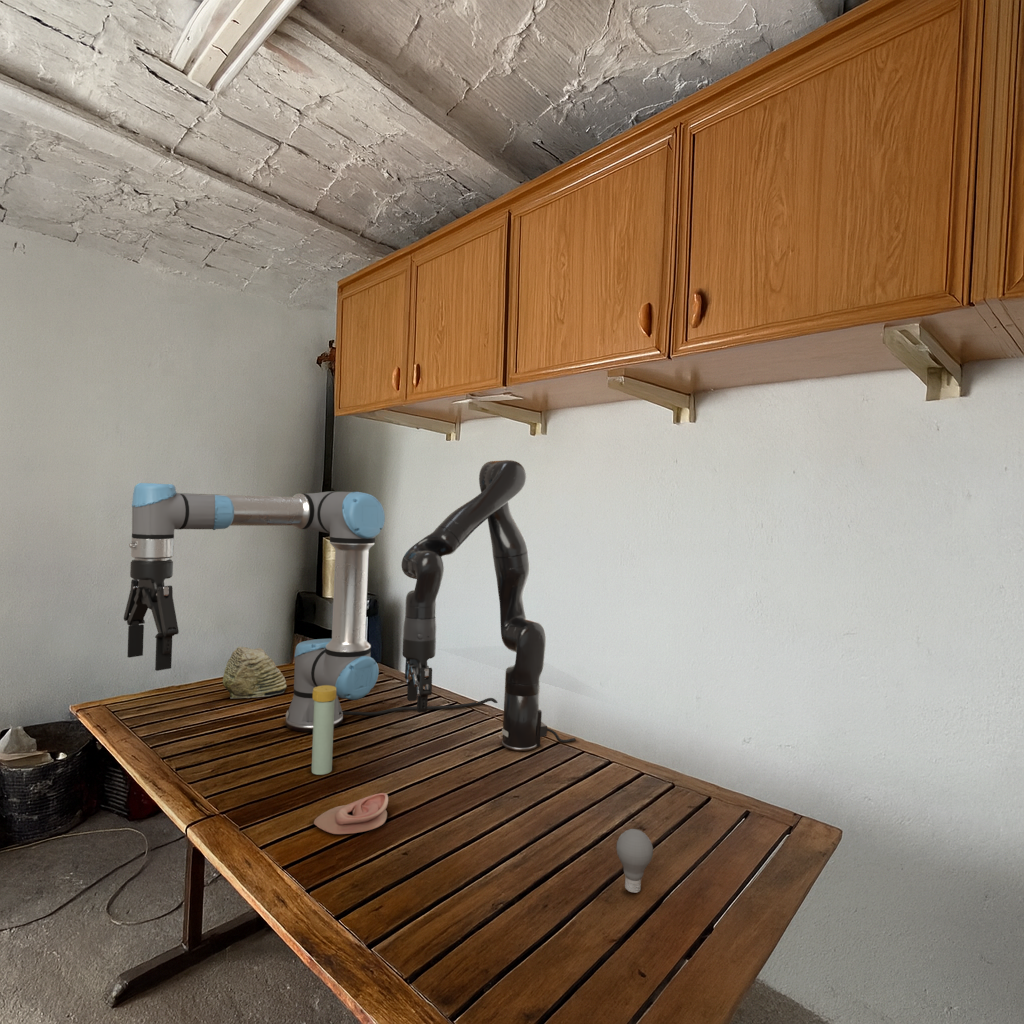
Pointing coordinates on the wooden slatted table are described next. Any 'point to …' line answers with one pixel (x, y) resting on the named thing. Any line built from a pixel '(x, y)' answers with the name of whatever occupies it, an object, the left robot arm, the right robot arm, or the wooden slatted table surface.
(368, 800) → the anatomical model
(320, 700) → the lid
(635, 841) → the light bulb
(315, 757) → the pale green cylindrical bottle
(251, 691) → the fossil
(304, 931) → the wooden slatted table surface
